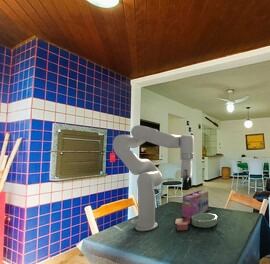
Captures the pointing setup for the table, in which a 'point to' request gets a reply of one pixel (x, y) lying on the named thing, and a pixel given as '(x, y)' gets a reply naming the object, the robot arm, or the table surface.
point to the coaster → (183, 220)
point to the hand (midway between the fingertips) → (187, 188)
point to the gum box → (194, 204)
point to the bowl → (204, 220)
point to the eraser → (182, 226)
